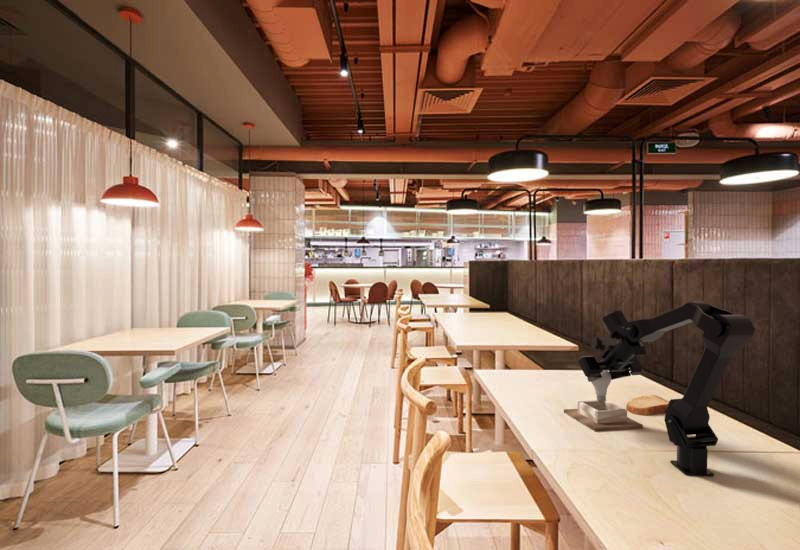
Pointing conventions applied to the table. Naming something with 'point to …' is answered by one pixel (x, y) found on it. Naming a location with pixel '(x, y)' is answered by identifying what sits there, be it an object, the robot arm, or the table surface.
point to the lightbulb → (602, 386)
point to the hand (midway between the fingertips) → (597, 380)
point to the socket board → (602, 416)
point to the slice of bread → (647, 405)
